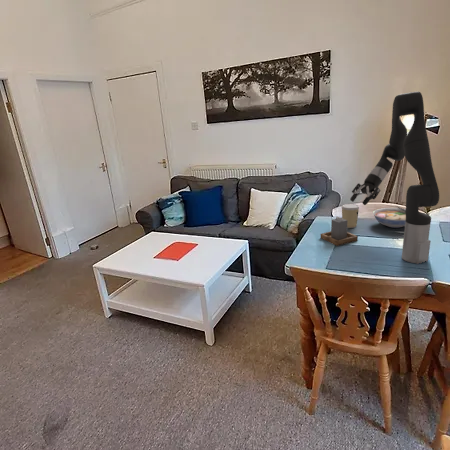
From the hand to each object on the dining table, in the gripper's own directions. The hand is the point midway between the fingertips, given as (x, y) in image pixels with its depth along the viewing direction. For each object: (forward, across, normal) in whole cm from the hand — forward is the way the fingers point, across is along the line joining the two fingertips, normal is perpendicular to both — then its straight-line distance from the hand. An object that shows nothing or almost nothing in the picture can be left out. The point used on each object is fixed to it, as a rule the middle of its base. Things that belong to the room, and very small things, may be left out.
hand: (357, 202), depth 166 cm
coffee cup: (+8, -13, +18) cm, 24 cm away
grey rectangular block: (+20, 0, +4) cm, 21 cm away
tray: (+21, 0, +5) cm, 21 cm away
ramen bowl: (-6, +1, +32) cm, 32 cm away
